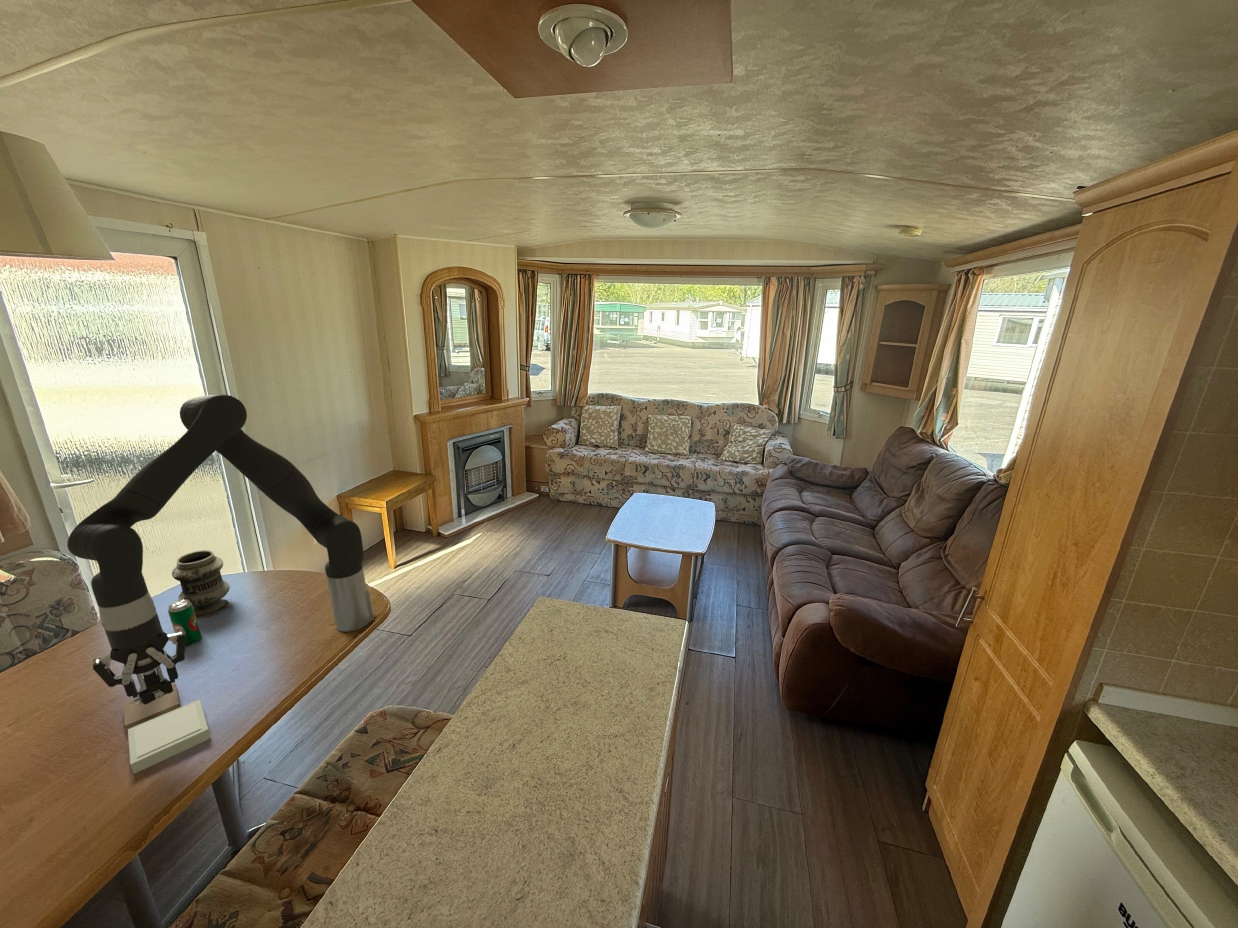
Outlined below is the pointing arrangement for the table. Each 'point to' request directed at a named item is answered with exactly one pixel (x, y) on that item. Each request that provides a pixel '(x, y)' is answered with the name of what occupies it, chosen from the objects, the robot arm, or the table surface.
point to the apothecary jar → (202, 582)
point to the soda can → (185, 620)
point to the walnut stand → (150, 709)
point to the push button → (150, 682)
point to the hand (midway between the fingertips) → (154, 687)
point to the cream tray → (167, 735)
